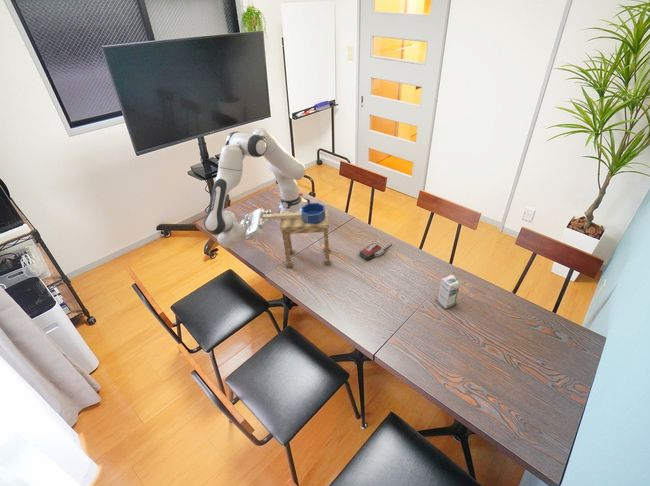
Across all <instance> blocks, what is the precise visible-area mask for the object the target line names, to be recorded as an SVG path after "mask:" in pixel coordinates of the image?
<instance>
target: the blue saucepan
mask: <svg viewBox="0 0 650 486" xmlns="http://www.w3.org/2000/svg"><path fill="white" fill-rule="evenodd" d="M325 209H326V207H325V205H324V204H321V203H320V202H310V203H308V204H306V205H304V206H303V207H302V210H301V212H294V213H280V212H279V213H278V212H277V213H276V212H275V213H271V214H263V216H262V218H263V220H264V219H267V218H268V219H269V220H281V219H282V218H301V217H302V219H303V220H304V221H305V222H306V223H309V224H316V223H320V222H322V221H323V220H324V219H325ZM264 221H265V220H264Z"/></svg>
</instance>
